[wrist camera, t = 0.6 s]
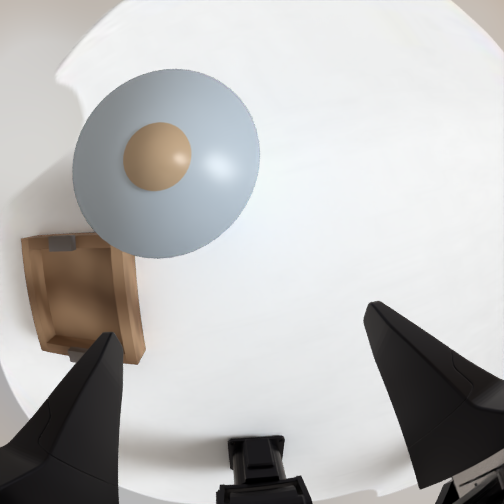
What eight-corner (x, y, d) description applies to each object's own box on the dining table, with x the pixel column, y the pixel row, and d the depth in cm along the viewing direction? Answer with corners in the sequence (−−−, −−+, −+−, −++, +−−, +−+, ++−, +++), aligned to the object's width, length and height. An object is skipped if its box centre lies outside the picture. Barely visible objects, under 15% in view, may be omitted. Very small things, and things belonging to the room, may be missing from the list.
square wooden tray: (145, 350, 23) (135, 370, 20) (55, 339, 22) (38, 354, 19) (133, 229, 21) (117, 233, 18) (37, 234, 20) (15, 238, 17)
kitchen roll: (240, 229, 22) (260, 258, 9) (155, 230, 22) (71, 259, 9) (240, 144, 21) (260, 64, 8) (156, 146, 20) (81, 82, 7)
